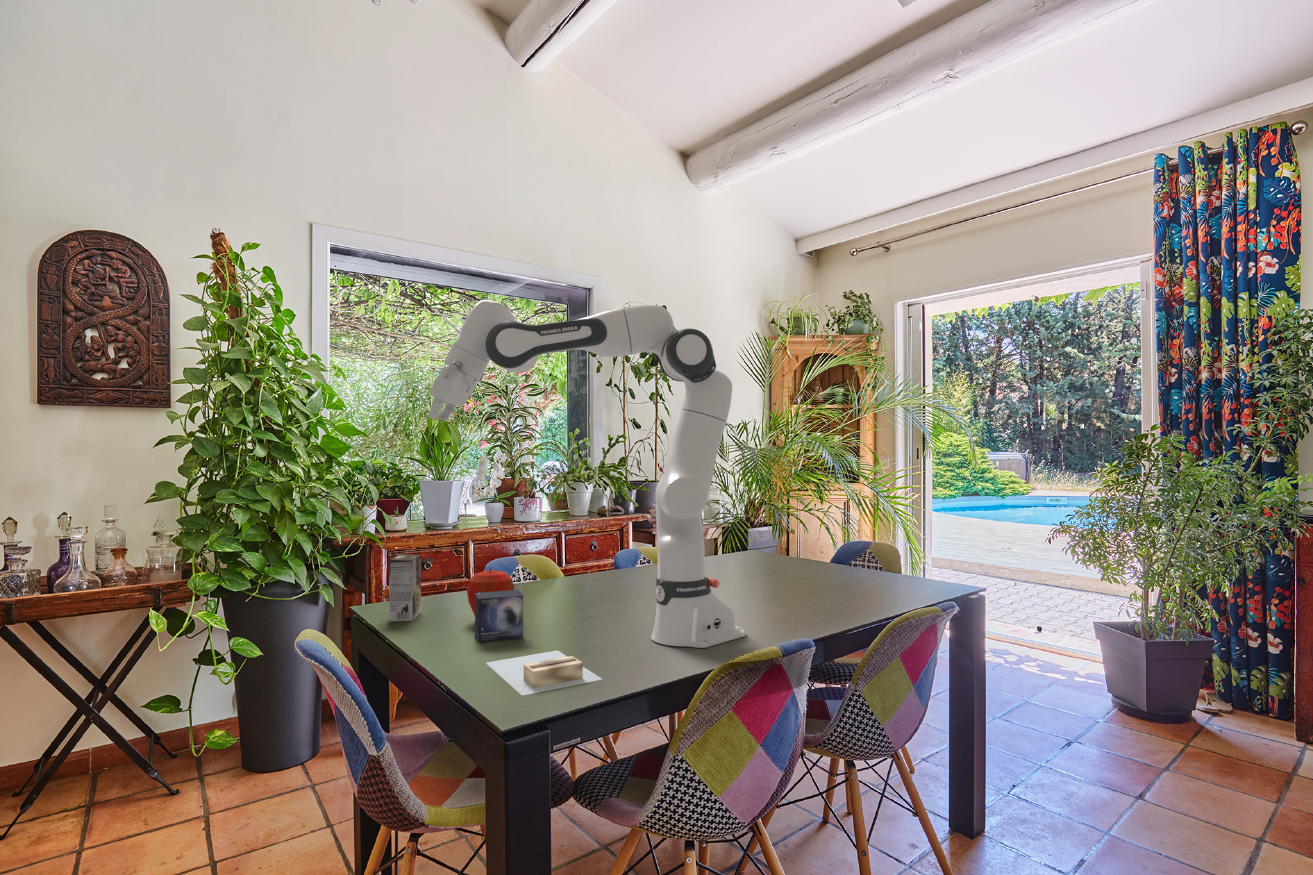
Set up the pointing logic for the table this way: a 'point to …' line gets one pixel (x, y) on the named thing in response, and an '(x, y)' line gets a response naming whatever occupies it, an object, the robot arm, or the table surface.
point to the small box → (498, 615)
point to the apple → (488, 584)
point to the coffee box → (404, 587)
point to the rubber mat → (514, 672)
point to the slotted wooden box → (553, 671)
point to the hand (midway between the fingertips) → (437, 419)
